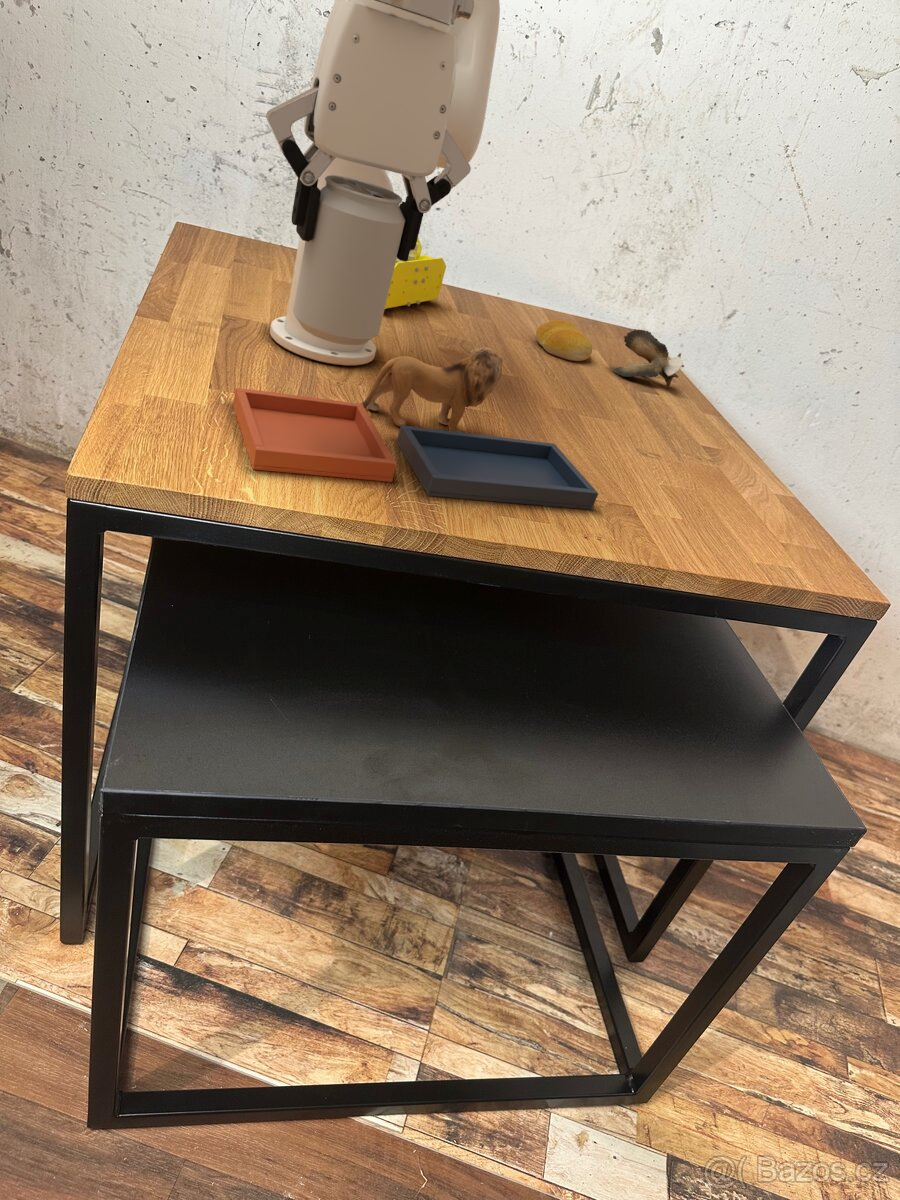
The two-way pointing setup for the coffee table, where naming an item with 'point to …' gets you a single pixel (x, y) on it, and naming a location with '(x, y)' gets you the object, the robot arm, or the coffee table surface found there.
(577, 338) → the bread roll
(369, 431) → the terracotta tray
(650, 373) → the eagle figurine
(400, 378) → the lion figurine
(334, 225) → the can
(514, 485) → the slate tray
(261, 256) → the coffee table surface
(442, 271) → the yellow toy chassis
